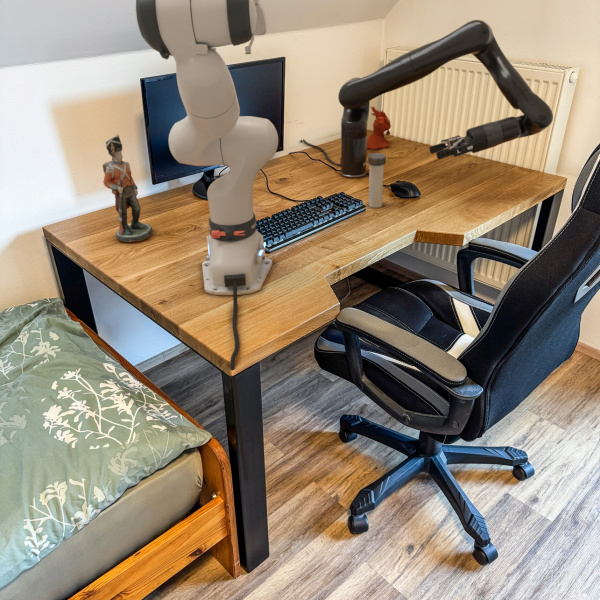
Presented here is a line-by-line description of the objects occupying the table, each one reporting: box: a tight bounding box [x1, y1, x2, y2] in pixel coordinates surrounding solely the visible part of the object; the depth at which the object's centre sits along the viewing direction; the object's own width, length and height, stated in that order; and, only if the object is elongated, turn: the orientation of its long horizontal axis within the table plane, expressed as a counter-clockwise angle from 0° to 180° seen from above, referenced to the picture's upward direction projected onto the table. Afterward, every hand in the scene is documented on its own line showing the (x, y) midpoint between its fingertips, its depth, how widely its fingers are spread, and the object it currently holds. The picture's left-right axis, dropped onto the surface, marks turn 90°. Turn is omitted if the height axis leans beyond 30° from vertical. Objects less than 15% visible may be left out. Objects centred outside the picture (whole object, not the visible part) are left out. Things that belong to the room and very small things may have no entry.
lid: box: [367, 152, 387, 166], centre depth 174 cm, size 5×5×2 cm
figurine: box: [102, 133, 153, 243], centre depth 161 cm, size 11×11×30 cm
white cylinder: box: [368, 164, 385, 209], centre depth 178 cm, size 4×4×16 cm
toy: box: [367, 106, 392, 151], centre depth 232 cm, size 13×18×15 cm
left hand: (231, 54), depth 151 cm, fingers open, 8 cm apart
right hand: (433, 153), depth 175 cm, fingers open, 8 cm apart
